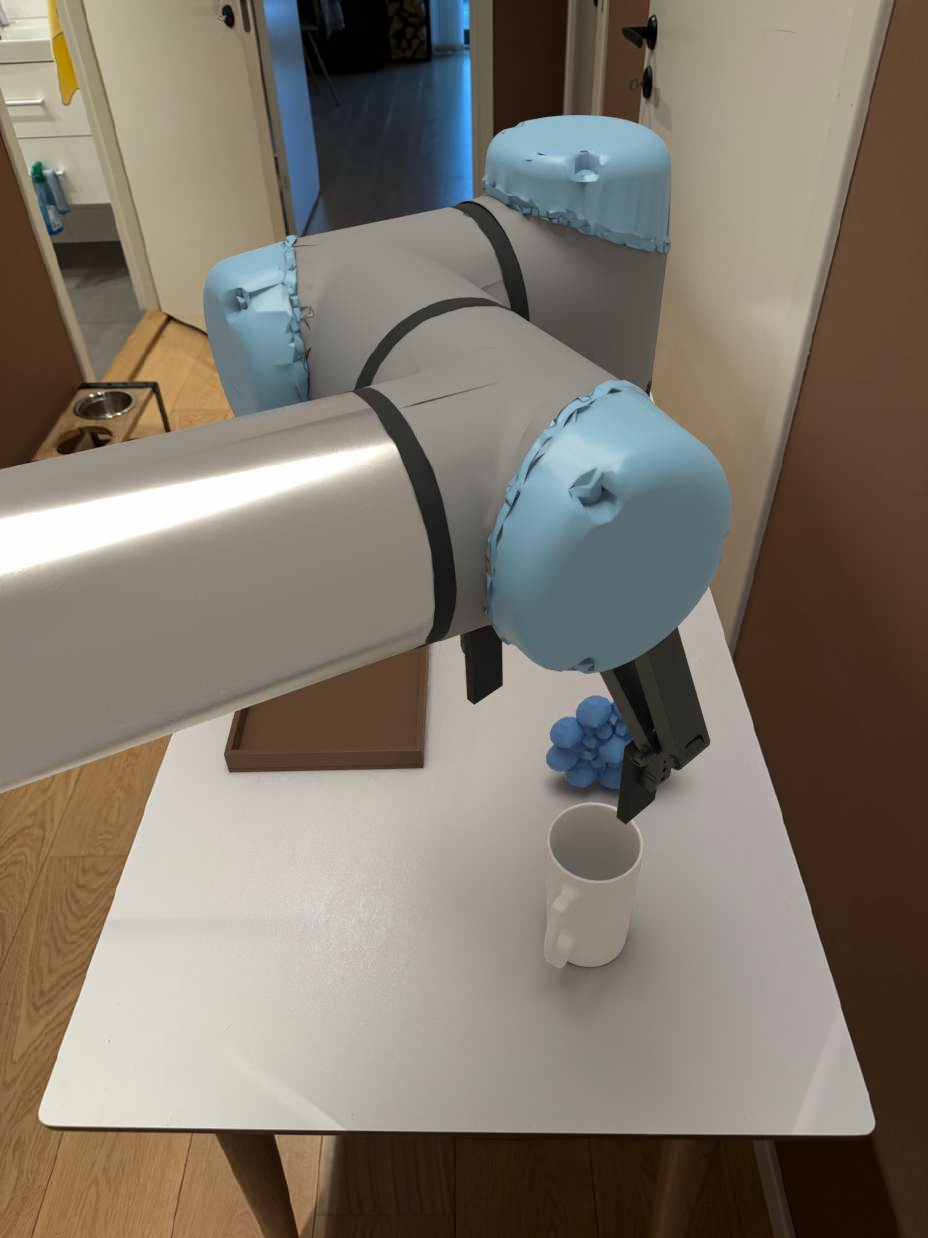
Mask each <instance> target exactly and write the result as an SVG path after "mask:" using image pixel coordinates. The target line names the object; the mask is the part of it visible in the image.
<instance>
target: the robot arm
mask: <svg viewBox="0 0 928 1238" xmlns="http://www.w3.org/2000/svg"><path fill="white" fill-rule="evenodd" d="M485 155H486V156H485V165H484V175H483V177H482V179H481V182H482V184H481V190H483V191H484V192H483V194H482V195H480V196H478V197H475V198H471V199H466V200H463V201H459V202H458V203H457V204H455V205H451V206H447V207H443V208H438V209H434V210H428V211H424V212H423V211H422V212H419V213H413V214H409V215H403V216H399V217H395V218H389V219H385V220H379V221H375V222H369V223H365V224H360V225H355V226H350V227H345V228H341V229H335V230H330V231H326V232H321V233H316V234H312V235H311V234H310V235H306V236H301V237H299V235H297V234H290V235H287V236H286V237H285V238H284V239H283V240H282V241H278V242H275V243H272V244H269V245H265V246H262V247H261V246H260V247H259V248H255V249H252V250H249V251H244V252H241V253H239V254H235V255H232V256H228V257H226V258H223V259H221V260H219V261H218V262H217V263H216V264H215V265H213V266H212V267H211V269H210V270H209V272H208V274H207V276H206V278H205V283H204V285H203V291H202V292H203V293H202V305H203V306H202V307H203V316H204V317H203V318H204V323H205V324H204V325H205V330H206V333H207V338H208V342H209V347H210V351H211V355H212V358H213V362H214V366H215V368H216V369H215V370H216V372H217V375H218V378H219V380H220V384H221V387H222V389H223V392H224V395H225V397H226V400H227V403H228V405H229V407H230V409H231V411H232V414H233V417H231V418H227V419H222V420H217V421H214V422H208V423H205V424H199V425H195V426H190V427H186V428H182V429H177V430H173V431H169V432H164V433H159V434H154V435H151V436H150V435H149V436H144V437H141V438H137V439H132V440H128V441H123V442H118V443H113V444H109V445H104V446H100V447H95V448H91V449H87V450H83V451H78V452H74V453H69V454H64V455H60V456H59V455H58V456H54V457H51V458H50V457H49V458H46V459H42V460H36V461H32V462H28V463H23V464H19V465H14V466H10V467H5V468H0V795H2V794H4V793H7V792H10V791H13V790H16V789H19V788H21V787H25V786H27V785H30V784H33V783H36V782H39V781H42V780H44V779H46V778H47V779H48V778H50V777H53V776H55V775H58V774H61V773H64V772H67V771H70V770H73V769H76V768H78V767H81V766H84V765H86V764H89V763H92V762H95V761H98V760H102V759H104V758H107V757H110V756H113V755H115V754H118V753H121V752H124V751H127V750H129V749H132V748H135V747H138V746H141V745H144V744H147V743H150V742H153V741H155V740H158V739H160V738H164V737H167V736H169V735H172V734H174V733H178V732H181V731H184V730H186V729H189V728H192V727H194V726H198V725H201V724H203V723H206V722H209V721H212V720H215V719H217V718H220V717H223V716H226V715H228V714H231V713H235V711H238V710H240V709H243V708H246V707H249V706H252V705H255V704H258V703H260V702H263V701H266V700H269V699H272V698H275V697H277V696H280V695H283V694H286V693H289V692H292V691H294V690H297V689H300V688H303V687H306V686H309V685H312V684H314V683H317V682H320V681H323V680H326V679H329V678H331V677H334V676H337V675H340V674H343V673H346V672H348V671H351V670H354V669H357V668H360V667H363V666H366V665H368V664H371V663H374V662H377V661H380V660H383V659H385V658H388V657H391V656H394V655H397V654H400V653H402V652H405V651H408V650H411V649H417V648H422V647H424V646H427V645H429V646H430V645H433V644H435V643H438V642H443V641H446V640H449V639H451V638H455V637H458V636H459V639H460V640H459V641H460V648H461V652H462V653H463V654H464V667H465V668H464V669H465V686H466V700H467V701H468V702H470V703H471V704H472V705H477V704H478V703H479V702H481V701H482V700H484V699H486V698H487V697H489V696H490V695H491V694H493V693H494V692H496V691H497V690H499V689H500V688H502V687H503V686H504V667H503V666H504V664H503V662H504V661H503V656H504V655H503V643H504V644H505V645H506V646H510V645H513V646H514V647H516V648H517V649H518V650H519V651H520V652H521V653H522V654H524V656H525V657H526V658H528V659H529V660H530V661H531V662H532V663H534V664H536V665H538V666H539V667H541V668H543V669H545V670H548V671H554V672H559V673H562V672H580V673H583V674H584V675H590V674H591V675H592V674H596V673H599V675H600V676H601V678H602V681H603V682H604V685H605V686H606V689H607V691H608V693H609V695H610V696H611V698H612V701H614V703H615V704H616V706H617V708H618V710H619V712H620V714H621V716H622V718H623V720H624V722H625V724H626V726H627V728H628V730H629V732H630V734H631V736H632V738H633V740H632V741H631V742H630V743H629V744H627V745H626V746H625V747H624V756H623V764H622V773H621V781H620V787H619V790H618V791H619V793H618V800H617V807H616V808H617V816H616V817H617V818H618V819H619V820H620V821H622V822H623V823H624V824H625V825H626V824H627V823H628V822H630V821H631V820H634V818H636V817H637V816H638V815H639V814H640V813H642V812H643V811H644V810H645V809H646V808H647V807H649V806H650V805H651V804H652V803H653V802H654V801H656V795H657V789H658V788H659V787H660V786H661V785H662V784H663V783H664V782H666V781H667V780H668V779H669V778H670V777H671V773H672V770H675V771H681V770H682V769H683V768H685V767H686V766H687V765H688V764H690V763H691V762H692V761H693V760H694V759H695V758H697V757H698V756H699V755H700V754H701V753H703V752H704V751H705V750H706V749H707V748H708V747H709V746H710V745H711V738H710V735H709V731H708V727H707V724H706V721H705V718H704V717H705V716H704V714H703V710H702V707H701V704H700V699H699V696H698V693H697V690H696V689H697V688H696V686H695V683H694V679H693V675H692V672H691V668H690V665H689V662H688V661H689V660H688V659H687V655H686V651H685V648H684V644H683V641H682V637H681V634H680V631H679V626H680V625H681V624H682V623H683V622H684V621H685V620H686V619H687V618H688V617H689V615H690V614H691V613H692V611H693V610H694V609H695V608H696V607H697V605H698V604H699V602H700V601H701V599H702V598H703V596H704V595H705V593H706V592H707V590H708V589H709V587H710V585H711V584H712V582H714V579H715V577H716V574H717V572H718V569H719V568H720V566H721V563H722V560H723V557H724V551H725V549H724V547H725V540H726V538H727V537H728V536H729V534H730V533H729V532H730V531H729V528H730V526H731V524H732V517H733V505H732V492H731V489H730V485H729V482H728V477H727V475H726V473H725V471H724V469H723V466H722V464H721V463H720V461H719V459H718V458H717V456H715V455H714V453H713V452H712V451H711V449H710V448H708V447H707V446H706V444H704V443H703V442H702V441H701V440H699V439H698V438H697V437H696V436H694V434H692V433H690V432H689V431H688V430H686V429H685V427H684V426H683V427H682V425H680V424H679V423H678V422H676V421H675V420H674V419H673V418H672V417H670V416H669V415H668V414H667V413H666V412H664V411H663V410H662V409H661V408H660V407H659V406H657V405H656V404H655V403H654V402H653V400H652V399H651V390H652V386H653V385H652V384H653V375H654V374H653V373H654V367H655V365H654V364H655V359H656V351H657V343H658V342H657V341H658V334H659V333H658V332H659V326H660V317H661V310H662V301H663V292H664V285H665V278H666V277H665V276H666V269H667V263H668V261H667V260H668V254H669V253H670V251H671V247H672V246H671V245H672V242H671V239H670V230H671V229H670V228H671V208H672V159H671V153H670V150H669V148H668V146H667V144H666V142H665V141H664V140H663V138H662V137H661V136H660V135H659V134H658V133H657V132H655V131H654V130H652V129H651V128H649V127H647V126H644V125H642V124H640V123H637V122H634V121H631V120H628V119H623V118H619V117H613V116H604V115H590V114H589V115H588V114H586V115H585V114H580V115H578V114H575V115H573V114H569V115H568V114H567V115H555V116H546V117H541V118H540V117H539V118H534V119H528V120H525V121H522V122H519V123H518V124H517V125H516V126H514V127H509V128H505V129H503V130H501V131H499V132H498V133H497V134H496V135H495V136H494V137H493V138H492V139H491V141H490V143H489V145H488V147H487V150H486V154H485Z"/></svg>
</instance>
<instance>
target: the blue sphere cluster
mask: <svg viewBox="0 0 928 1238" xmlns="http://www.w3.org/2000/svg"><path fill="white" fill-rule="evenodd" d="M612 701H613V700H612ZM549 740H550V741H551V743H552V744H553V745H552V746H551V747H549V748H548V750H547V753H546V755H545V759H546V760H545V763H546V765H547V766H548V767H549V768H550V770H553V771H555V772H557V773H558V772H559V773H564V779H565V780H566V781H567V783H568V784H569V785H571V786H572V787H575V788H586V787H588V786H590V785H591V784H592V783H593V782H595V780H596V779H597V782H599V784H600V785H601V786H602V787H605V788H606V789H612V790H615V789H620V781H621V773H622V764H623V756H624V747H625V746H626V745H627V744H629V743H630V742H631V741H632V740H633V738H632V736H631V734H630V732H629V730H628V728H627V726H626V724H625V722H624V720H623V718H622V716H621V714H620V712H619V710H618V708H617V706H616V704H615V703H614V701H613V702H611V701H610V699H608V698H607V697H605V696H602V695H599V694H598V695H597V694H596V695H595V694H594V695H593V694H592V695H590V696H587V697H586V698H584V700H581V702H580V703H579V704H578V706H577V708H576V710H575V716H564V717H561V718H559V719H558V720H557V721H556V722H555V723H554V724H553V725H552V726H551V727H550V730H549Z"/></svg>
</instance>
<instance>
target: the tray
mask: <svg viewBox="0 0 928 1238" xmlns="http://www.w3.org/2000/svg"><path fill="white" fill-rule="evenodd" d="M429 652H430V645H427V646H424V647H422V648H417V649H411V650H408V651H405V652H402V653H400V654H397V655H394V656H391V657H388V658H385V659H383V660H380V661H377V662H374V663H371V664H368V665H366V666H363V667H360V668H357V669H354V670H351V671H348V672H346V673H343V674H340V675H337V676H334V677H331V678H329V679H326V680H323V681H320V682H317V683H314V684H312V685H309V686H306V687H303V688H300V689H297V690H294V691H292V692H289V693H286V694H283V695H280V696H277V697H275V698H272V699H269V700H266V701H263V702H260V703H258V704H255V705H252V706H249V707H246V708H243V709H240V710H238V711H235V712H233V717H232V721H231V724H230V729H229V733H228V736H227V740H226V745H225V748H224V752H223V758H224V760H225V763H226V766H227V769H228V772H229V773H243V772H244V773H246V772H249V773H250V772H285V771H286V772H288V771H289V772H290V771H291V772H293V771H335V770H378V769H380V770H381V769H382V770H384V769H386V770H387V769H418V768H419V769H423V768H424V761H425V743H426V741H425V740H426V723H427V722H426V719H427V718H426V717H427V701H428V700H427V699H428V698H427V697H428V679H429V678H428V675H429V655H430V654H429Z"/></svg>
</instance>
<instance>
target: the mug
mask: <svg viewBox="0 0 928 1238" xmlns="http://www.w3.org/2000/svg"><path fill="white" fill-rule="evenodd" d="M616 816H617V807H616V806H614V805H610V804H607V803H603V802H595V801H593V802H590V801H589V802H582V803H581V802H580V803H578V804H577V803H576V804H574V805H571V806H569V807H567V808H565V809H563V810H562V811H561V812H559V813H558V814H557V815H556V816H555V818H554V819H553V820H552V822H550V825H549V828H548V830H547V834H546V855H545V856H546V857H545V859H546V862H545V863H546V864H545V865H546V867H545V868H546V873H545V874H546V877H545V878H546V879H545V880H546V908H545V911H546V912H545V913H546V929H545V933H544V940H543V956H544V958H545V960H546V961H547V962H548V963H549V964H550V965H552V966H554V967H555V968H557V969H562V968H564V967H565V965H566V964H567V962H568V963H570V964H572V965H575V966H578V967H583V968H597V967H602V966H604V965H606V964H609V963H611V962H612V961H613V960H616V958H617V957H618V956H619V955H620V954H621V952H622V951H623V949H624V947H625V944H626V941H627V939H628V938H627V936H628V933H629V928H630V924H631V919H632V915H633V907H634V902H635V898H636V891H637V887H638V884H639V883H638V882H639V877H640V871H641V867H642V860H643V853H644V838H643V834H642V832H641V830H640V828H639V826H638V825H637V823H636V822H635V820H634V819H632V820H631V821H630V822H628V823H627V824H626V825H625V824H624V823H623V822H622V821H620V820H619V819H618V818H617V817H616Z"/></svg>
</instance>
